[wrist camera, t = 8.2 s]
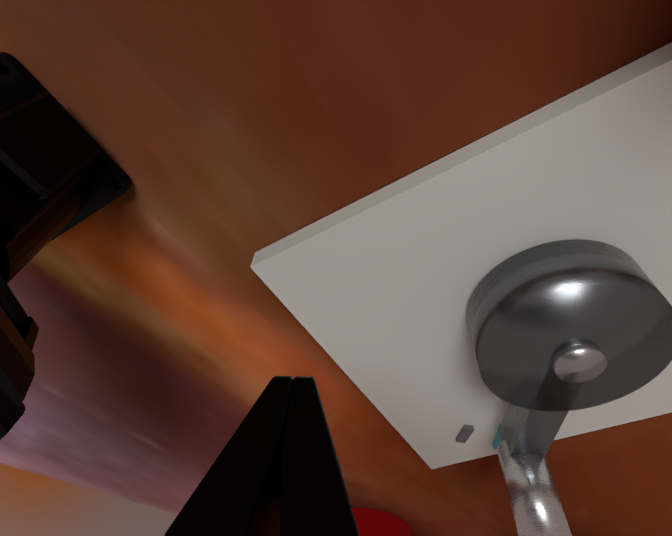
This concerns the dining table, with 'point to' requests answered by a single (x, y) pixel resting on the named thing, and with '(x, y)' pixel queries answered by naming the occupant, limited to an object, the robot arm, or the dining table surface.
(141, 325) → the dining table surface
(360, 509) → the decorative ornament
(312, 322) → the stand board
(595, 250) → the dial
